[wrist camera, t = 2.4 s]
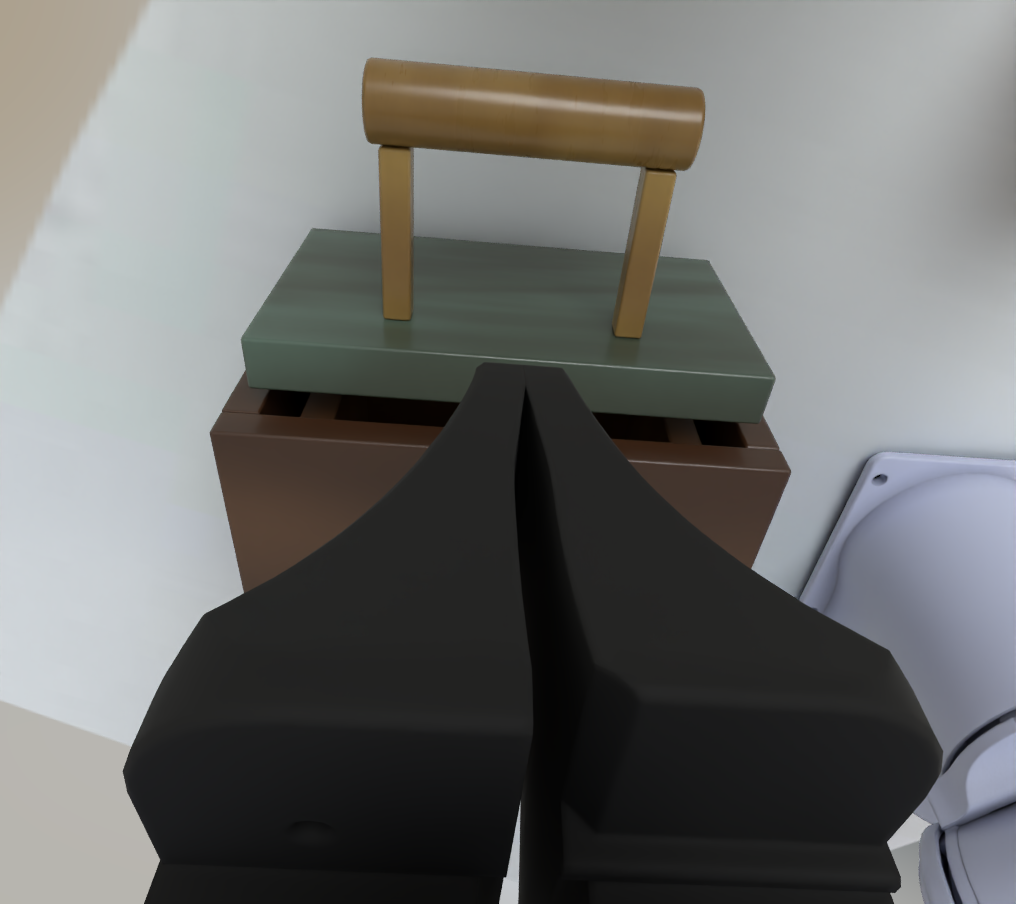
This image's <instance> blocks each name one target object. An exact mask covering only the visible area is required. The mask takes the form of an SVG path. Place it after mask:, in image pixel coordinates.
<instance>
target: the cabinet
mask: <svg viewBox="0 0 1016 904" xmlns="http://www.w3.org/2000/svg"><path fill="white" fill-rule="evenodd" d="M310 393H311V392H297V391H283V390H268V389H254V388H250V387H249V385H248V380H247V374H246V370H245V372H244V374H243V375H242V377H241V379H240V381H239V382H238V384H237V386H236V387H235V389H234V391H233V392H232V394H231V396H230V398H229V399H228V401H227V403H226V404H225V406H224V408H223V409H222V413H221V414H220V416H219V417H218V419H217V421H216V422H215V424H214V426H213V428H212V429H211V431H210V437H211V442H212V446H213V451H214V456H215V460H216V465H217V469H218V474H219V479H220V483H221V488H222V493H223V497H224V502H225V507H226V511H227V516H228V521H229V525H230V530H231V535H232V539H233V544H234V548H235V553H236V558H237V562H238V567H239V572H240V576H241V581H242V586H243V590H244V593H246V592H248V591H249V590H251V589H253V588H255V587H257V586H259V585H261V584H263V583H264V582H266V581H268V580H270V579H272V578H274V577H275V576H277V575H279V574H280V573H282V572H284V571H285V570H287V569H289V568H290V567H292V566H293V565H295V564H296V563H298V562H299V561H301V560H302V559H304V558H305V557H307V556H308V555H310V554H311V553H312V552H314V551H315V550H317V549H318V548H320V547H321V546H323V545H324V544H326V543H327V542H328V541H330V540H331V539H333V538H334V537H336V536H337V535H338V534H339V533H341V532H342V531H343V530H345V529H346V528H347V527H348V526H350V525H351V524H352V523H353V522H355V521H356V520H357V519H358V518H359V517H360V516H362V515H363V514H364V513H365V512H366V511H367V510H369V509H370V508H371V507H372V506H373V505H374V504H375V503H377V502H378V501H379V500H380V499H381V498H382V497H383V496H384V495H385V494H386V493H387V492H388V491H389V490H390V489H392V488H393V487H394V486H395V485H396V484H397V483H398V482H399V481H400V480H401V478H402V477H403V476H404V475H405V474H406V473H407V472H408V471H409V470H410V469H411V468H412V467H413V466H414V464H415V463H416V462H417V461H418V460H419V459H420V457H421V456H422V455H423V454H424V452H425V451H426V450H427V449H428V447H429V446H430V445H431V444H432V442H433V441H434V440H435V439H436V437H437V436H438V435H439V434H440V432H441V431H442V429H443V428H444V427H435V426H421V425H406V424H392V423H377V422H363V421H348V420H334V419H319V418H305V417H300V416H301V414H302V412H303V409H304V407H305V404H306V402H307V400H308V397H309V395H310ZM693 421H694V424H695V427H696V429H697V432H698V435H699V438H700V441H701V443H702V445H696V444H681V443H667V442H652V441H638V440H623V439H612V441H613V442H614V443H615V445H616V446H617V447H618V449H619V450H620V451H621V452H622V454H623V455H624V456H625V457H626V458H627V460H628V461H629V462H630V463H631V464H632V466H633V467H634V468H635V469H636V470H637V471H638V472H639V473H640V475H641V476H642V477H643V478H644V479H645V480H646V481H647V482H648V483H649V484H650V485H651V486H652V487H653V488H654V489H655V490H656V491H657V492H658V493H659V494H660V495H661V496H662V497H663V498H664V499H665V500H666V501H667V502H668V503H669V504H671V505H672V506H673V507H674V508H675V509H676V510H677V511H678V512H679V513H680V514H681V515H682V516H683V517H685V518H686V519H687V520H688V521H689V522H690V523H692V524H693V525H694V526H695V527H696V528H698V529H699V530H700V531H701V532H702V533H704V534H705V535H706V536H707V537H709V538H710V539H711V540H713V541H714V542H715V543H717V544H718V545H719V546H720V547H722V548H723V549H724V550H726V551H727V552H728V553H729V554H731V555H732V556H733V557H735V558H736V559H737V560H739V561H740V562H742V563H743V564H745V565H746V566H747V567H749V568H750V569H751V568H752V566H753V563H754V561H755V559H756V556H757V554H758V551H759V549H760V547H761V544H762V542H763V539H764V537H765V535H766V532H767V530H768V527H769V525H770V523H771V520H772V518H773V515H774V513H775V511H776V508H777V506H778V503H779V501H780V499H781V496H782V494H783V491H784V489H785V487H786V484H787V482H788V479H789V477H790V475H791V470H790V468H789V466H788V464H787V462H786V460H785V458H784V456H783V454H782V452H781V451H779V446H778V444H777V442H776V440H775V438H774V436H773V434H772V432H771V430H770V428H769V426H768V424H767V422H766V421H765V419H764V417H763V416H762V418H761V421H760V423H759V424H750V423H736V422H722V421H707V420H693Z"/></svg>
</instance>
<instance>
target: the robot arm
mask: <svg viewBox="0 0 1016 904" xmlns="http://www.w3.org/2000/svg"><path fill="white" fill-rule="evenodd" d="M877 475H881V476H880V477H878V478H876V479H873V478H874V477H875V476H877ZM123 774H124V779H125V783H126V788H127V792H128V794H129V796H130V799H131V801H132V803H133V805H134V807H135V809H136V811H137V813H138V815H139V817H140V819H141V821H142V823H143V825H144V827H145V829H146V831H147V833H148V835H149V838H150V840H151V842H152V844H153V846H154V848H155V850H156V852H157V854H158V856H159V858H160V862H159V865H158V868H157V870H156V873H155V876H154V878H153V881H152V884H151V887H150V889H149V892H148V894H147V897H146V900H145V902H144V904H499V900H500V895H501V889H502V883H503V878H504V877H506V876H507V871H508V865H509V860H510V854H511V849H512V844H513V838H514V833H515V827H516V822H517V817H518V811H519V806H520V801H521V813H520V862H519V900H518V904H894V902H893V899H892V897H891V895H890V893H895V892H896V891H897V890H898V889H899V888H900V887H901V876H900V874H899V871H898V869H897V867H896V864H895V861H894V859H893V857H892V854H891V852H890V849H889V847H888V844H887V841H888V840H889V839H890V838H891V837H892V836H893V835H894V833H895V832H896V831H897V830H898V829H899V828H900V827H901V825H902V824H903V823H904V822H905V821H906V820H907V819H908V818H909V816H910V815H911V814H912V813H914V814H915V815H917V816H918V817H920V818H921V819H923V820H925V821H927V822H928V823H930V824H932V825H930V826H928V827H927V828H926V829H925V830H924V831H923V833H922V834H921V838H920V843H919V859H920V860H919V881H920V888H921V893H922V897H923V901H924V904H1016V460H1001V459H987V458H972V457H958V456H944V455H929V454H915V453H900V452H880V453H877V454H875V455H874V456H872V457H871V458H870V459H869V460H868V462H867V463H866V465H865V467H864V469H863V471H862V473H861V475H860V477H859V480H858V482H857V484H856V486H855V488H854V490H853V492H852V494H851V496H850V498H849V500H848V502H847V504H846V506H845V508H844V510H843V512H842V514H841V516H840V518H839V520H838V522H837V524H836V526H835V528H834V530H833V532H832V534H831V536H830V538H829V540H828V542H827V544H826V546H825V548H824V550H823V552H822V554H821V556H820V558H819V560H818V562H817V564H816V566H815V568H814V570H813V572H812V574H811V576H810V578H809V580H808V583H807V585H806V587H805V589H804V591H803V593H802V595H801V597H800V599H799V600H798V599H796V598H795V597H793V596H791V595H790V594H788V593H787V592H785V591H784V590H782V589H781V588H779V587H777V586H776V585H774V584H773V583H771V582H770V581H768V580H766V579H765V578H763V577H762V576H760V575H759V574H757V573H756V572H755V571H753V570H752V569H750V568H749V567H747V566H746V565H745V564H743V563H742V562H740V561H739V560H737V559H736V558H735V557H733V556H732V555H731V554H729V553H728V552H727V551H726V550H724V549H723V548H722V547H720V546H719V545H718V544H717V543H715V542H714V541H713V540H711V539H710V538H709V537H707V536H706V535H705V534H704V533H702V532H701V531H700V530H699V529H698V528H696V527H695V526H694V525H693V524H692V523H690V522H689V521H688V520H687V519H686V518H685V517H683V516H682V515H681V514H680V513H679V512H678V511H677V510H676V509H675V508H674V507H673V506H672V505H671V504H669V503H668V502H667V501H666V500H665V499H664V498H663V497H662V496H661V495H660V494H659V493H658V492H657V491H656V490H655V489H654V488H653V487H652V486H651V485H650V484H649V483H648V482H647V481H646V480H645V479H644V478H643V477H642V476H641V475H640V473H639V472H638V471H637V470H636V469H635V468H634V467H633V466H632V464H631V463H630V462H629V461H628V460H627V458H626V457H625V456H624V455H623V454H622V452H621V451H620V450H619V449H618V447H617V446H616V445H615V443H614V442H613V441H612V439H611V438H610V437H609V436H608V434H607V433H606V432H605V430H604V429H603V428H602V426H601V425H600V424H599V422H598V421H597V419H596V418H595V417H594V415H593V414H592V412H591V411H590V409H589V408H588V406H587V405H586V403H585V402H584V400H583V399H582V397H581V396H580V394H579V392H578V391H577V389H576V388H575V386H574V384H573V383H572V381H571V379H570V378H569V376H568V375H567V373H566V372H565V371H564V370H563V368H559V367H545V366H532V365H518V364H505V363H491V362H483V363H482V364H481V365H479V366H478V367H477V368H476V371H475V374H474V377H473V379H472V382H471V384H470V386H469V388H468V390H467V392H466V394H465V395H464V397H463V399H462V401H461V402H460V404H459V406H458V407H457V409H456V410H455V412H454V413H453V415H452V416H451V418H450V419H449V421H448V422H447V424H446V425H445V427H444V428H443V429H442V431H441V432H440V434H439V435H438V436H437V437H436V439H435V440H434V441H433V442H432V444H431V445H430V446H429V447H428V449H427V450H426V451H425V452H424V454H423V455H422V456H421V457H420V459H419V460H418V461H417V462H416V463H415V464H414V466H413V467H412V468H411V469H410V470H409V471H408V472H407V473H406V474H405V475H404V476H403V477H402V478H401V480H400V481H399V482H398V483H397V484H396V485H395V486H394V487H393V488H392V489H390V490H389V491H388V492H387V493H386V494H385V495H384V496H383V497H382V498H381V499H380V500H379V501H378V502H377V503H375V504H374V505H373V506H372V507H371V508H370V509H369V510H367V511H366V512H365V513H364V514H363V515H362V516H360V517H359V518H358V519H357V520H356V521H355V522H353V523H352V524H351V525H350V526H348V527H347V528H346V529H345V530H343V531H342V532H341V533H339V534H338V535H337V536H336V537H334V538H333V539H331V540H330V541H328V542H327V543H326V544H324V545H323V546H321V547H320V548H318V549H317V550H315V551H314V552H312V553H311V554H310V555H308V556H307V557H305V558H304V559H302V560H301V561H299V562H298V563H296V564H295V565H293V566H292V567H290V568H289V569H287V570H285V571H284V572H282V573H280V574H279V575H277V576H275V577H274V578H272V579H270V580H268V581H266V582H264V583H263V584H261V585H259V586H257V587H255V588H253V589H251V590H249V591H248V592H246V593H244V594H242V595H240V596H238V597H236V598H235V599H233V600H231V601H229V602H227V603H225V604H223V605H222V606H220V607H217V608H215V609H213V610H211V611H209V612H207V613H206V614H204V615H203V616H202V618H201V619H200V621H199V622H198V624H197V625H196V627H195V628H194V630H193V631H192V633H191V635H190V636H189V638H188V639H187V641H186V642H185V644H184V645H183V647H182V648H181V650H180V652H179V654H178V655H177V657H176V658H175V660H174V662H173V663H172V665H171V666H170V668H169V669H168V671H167V673H166V674H165V676H164V678H163V680H162V682H161V684H160V686H159V688H158V690H157V692H156V694H155V696H154V698H153V700H152V702H151V705H150V707H149V709H148V711H147V714H146V716H145V718H144V720H143V722H142V725H141V727H140V729H139V731H138V734H137V736H136V738H135V740H134V743H133V745H132V747H131V749H130V752H129V755H128V758H127V761H126V763H125V766H124V769H123Z"/></svg>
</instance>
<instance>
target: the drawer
mask: <svg viewBox="0 0 1016 904" xmlns="http://www.w3.org/2000/svg"><path fill="white" fill-rule="evenodd" d="M362 117H363V126H364V132H365V135H366V138H367V141H368V142H369V143H371V144H379V145H381V146H380V147H379V150H378V158H379V193H380V228H381V234H377V233H364V232H352V231H340V230H327V229H315V228H313V229H311V231H310V232H309V234H308V235H307V237H306V239H305V240H304V242H303V243H302V245H301V246H300V248H299V249H298V251H297V253H296V254H295V256H294V257H293V259H292V260H291V262H290V263H289V265H288V266H287V268H286V270H285V271H284V273H283V274H282V276H281V277H280V279H279V280H278V282H277V284H276V285H275V287H274V288H273V290H272V291H271V293H270V294H269V296H268V297H267V299H266V301H265V302H264V304H263V305H262V307H261V308H260V310H259V311H258V313H257V315H256V316H255V318H254V319H253V321H252V322H251V324H250V325H249V327H248V328H247V330H246V332H245V333H244V335H243V336H242V338H241V344H242V350H243V356H244V362H245V368H246V374H247V380H248V385H249V387H250V388H254V389H268V390H283V391H297V392H311V393H310V395H309V397H308V400H307V402H306V404H305V407H304V409H303V412H302V414H301V416H300V417H305V418H319V419H334V420H348V421H363V422H377V423H392V424H406V425H421V426H435V427H445V425H446V424H447V422H448V421H449V419H450V418H451V416H452V415H453V413H454V412H455V410H456V409H457V407H458V406H459V404H460V402H461V401H462V399H463V397H464V395H465V394H466V392H467V390H468V388H469V386H470V384H471V382H472V379H473V377H474V374H475V371H476V368H477V367H478V366H479V365H481V364H482V363H483V362H491V363H505V364H518V365H532V366H545V367H559V368H563V370H564V371H565V372H566V373H567V375H568V376H569V378H570V379H571V381H572V383H573V384H574V386H575V388H576V389H577V391H578V392H579V394H580V396H581V397H582V399H583V400H584V402H585V403H586V405H587V406H588V408H589V409H590V411H591V412H592V414H593V415H594V417H595V418H596V419H597V421H598V422H599V424H600V425H601V426H602V428H603V429H604V430H605V432H606V433H607V434H608V436H609V437H610V438H611V439H623V440H638V441H652V442H667V443H681V444H696V445H702V443H701V441H700V438H699V435H698V432H697V429H696V427H695V424H694V421H693V420H707V421H722V422H736V423H750V424H759V423H760V421H761V418H762V416H763V413H764V410H765V407H766V405H767V402H768V399H769V396H770V394H771V391H772V388H773V385H774V383H775V376H774V374H773V372H772V370H771V369H770V367H769V365H768V363H767V362H766V360H765V358H764V356H763V355H762V353H761V351H760V349H759V348H758V346H757V344H756V342H755V341H754V339H753V337H752V336H751V334H750V332H749V330H748V329H747V327H746V325H745V323H744V322H743V320H742V318H741V316H740V315H739V313H738V311H737V309H736V308H735V306H734V304H733V302H732V301H731V299H730V297H729V295H728V294H727V292H726V290H725V289H724V287H723V285H722V283H721V282H720V280H719V278H718V276H717V275H716V273H715V271H714V269H713V268H712V266H711V264H710V262H709V261H707V260H697V259H685V258H673V257H660V256H659V254H660V249H661V245H662V240H663V236H664V231H665V227H666V222H667V218H668V213H669V208H670V204H671V199H672V195H673V190H674V186H675V181H676V176H677V175H676V172H675V171H674V170H679V171H685V170H688V169H689V168H690V167H691V165H692V164H693V162H694V160H695V157H696V155H697V152H698V149H699V146H700V142H701V138H702V134H703V128H704V121H705V97H704V93H703V91H702V90H701V89H699V88H695V87H684V86H673V85H662V84H651V83H641V82H630V81H619V80H608V79H597V78H586V77H576V76H565V75H554V74H543V73H532V72H522V71H511V70H500V69H489V68H478V67H467V66H457V65H446V64H435V63H424V62H413V61H402V60H392V59H381V58H370V59H368V60H367V61H366V64H365V68H364V73H363V81H362ZM414 148H425V149H437V150H448V151H460V152H471V153H483V154H494V155H506V156H517V157H529V158H540V159H552V160H563V161H575V162H586V163H598V164H609V165H621V166H633V167H641V171H640V177H639V182H638V187H637V192H636V198H635V203H634V208H633V214H632V219H631V224H630V230H629V235H628V240H627V246H626V251H625V254H623V253H611V252H599V251H586V250H574V249H562V248H549V247H537V246H525V245H512V244H500V243H488V242H475V241H463V240H451V239H438V238H426V237H414Z"/></svg>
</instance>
